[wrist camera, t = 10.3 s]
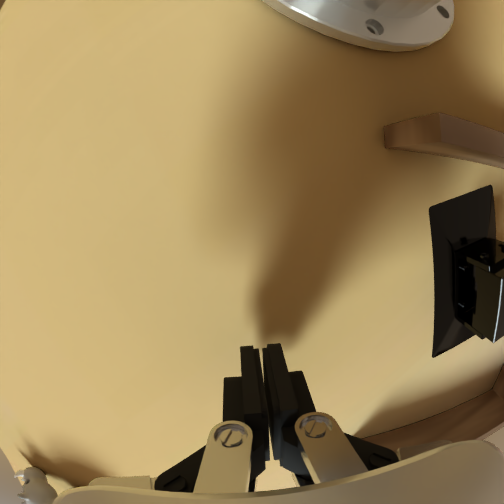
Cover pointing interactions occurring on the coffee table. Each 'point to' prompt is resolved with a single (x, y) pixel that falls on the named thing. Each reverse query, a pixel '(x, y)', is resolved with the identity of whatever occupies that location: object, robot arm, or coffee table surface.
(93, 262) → the coffee table surface
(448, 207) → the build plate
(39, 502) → the white animal figurine
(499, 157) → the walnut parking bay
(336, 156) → the coffee table surface
